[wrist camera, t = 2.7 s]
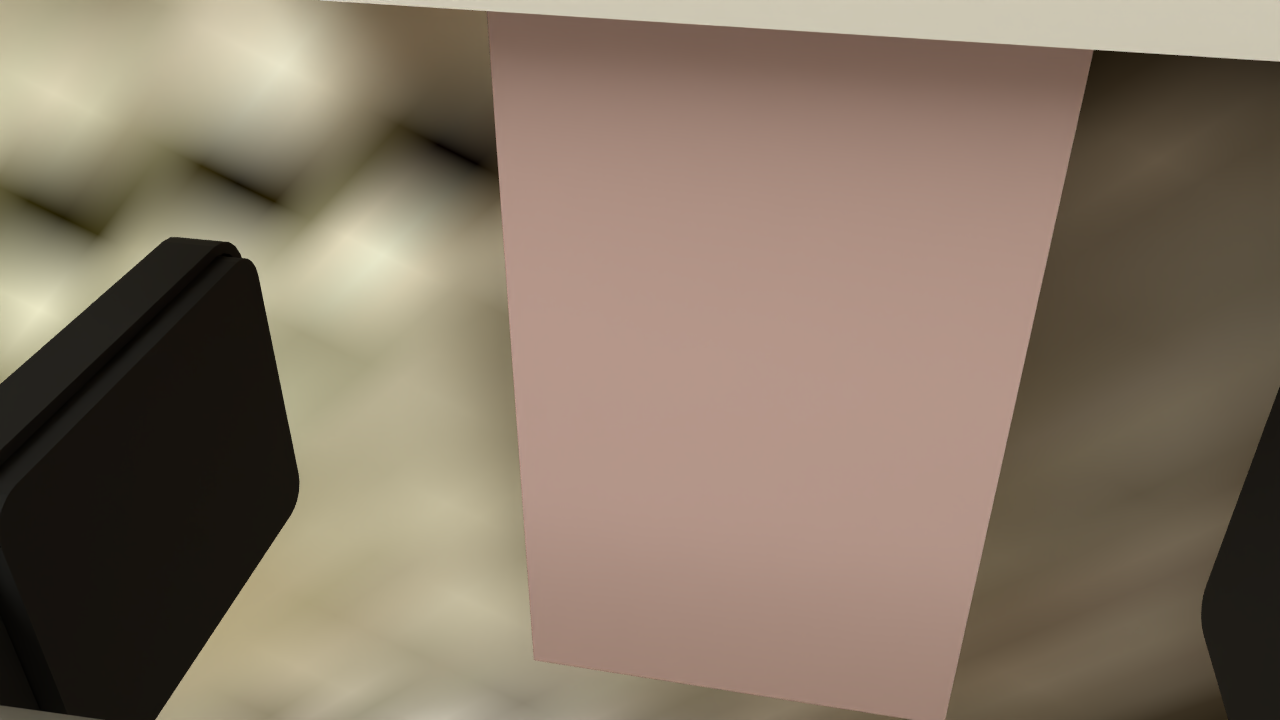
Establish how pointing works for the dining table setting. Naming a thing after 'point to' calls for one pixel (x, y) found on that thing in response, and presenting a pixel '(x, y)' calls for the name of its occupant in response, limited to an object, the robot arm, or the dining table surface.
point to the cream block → (958, 20)
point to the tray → (769, 340)
